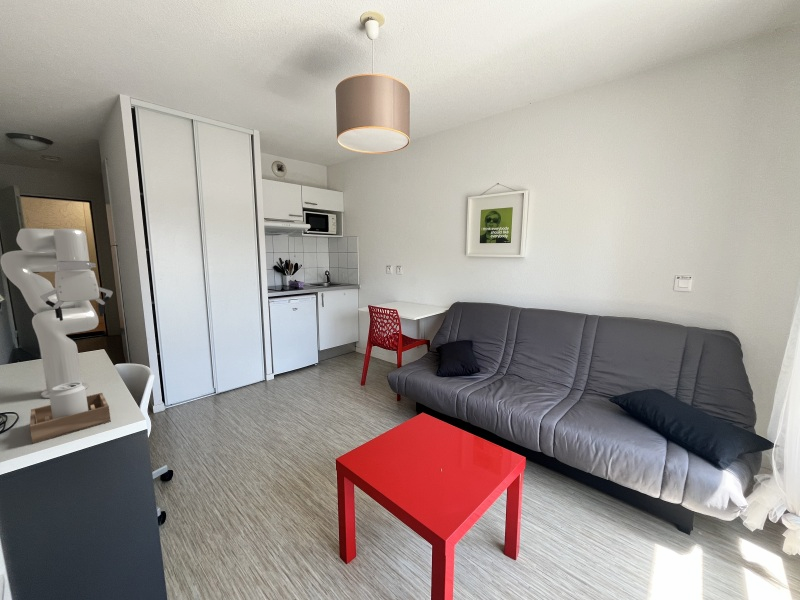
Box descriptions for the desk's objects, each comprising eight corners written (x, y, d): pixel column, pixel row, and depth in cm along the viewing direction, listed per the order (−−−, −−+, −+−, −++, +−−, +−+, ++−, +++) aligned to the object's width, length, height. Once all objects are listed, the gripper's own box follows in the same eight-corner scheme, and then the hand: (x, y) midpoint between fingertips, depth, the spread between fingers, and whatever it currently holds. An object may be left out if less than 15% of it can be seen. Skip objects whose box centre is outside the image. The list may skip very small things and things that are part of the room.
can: (96, 418, 101) (91, 380, 99) (70, 430, 94) (64, 390, 92) (74, 417, 102) (69, 380, 100) (46, 429, 94) (40, 390, 93)
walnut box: (33, 424, 99) (30, 409, 98) (104, 406, 111) (102, 392, 110) (32, 444, 88) (29, 426, 88) (110, 421, 100) (108, 406, 99)
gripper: (107, 266, 116) (113, 313, 118) (35, 267, 104) (43, 320, 106) (110, 266, 111) (117, 315, 113) (35, 267, 99) (44, 323, 101)
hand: (81, 318), depth 109 cm, fingers open, 9 cm apart
